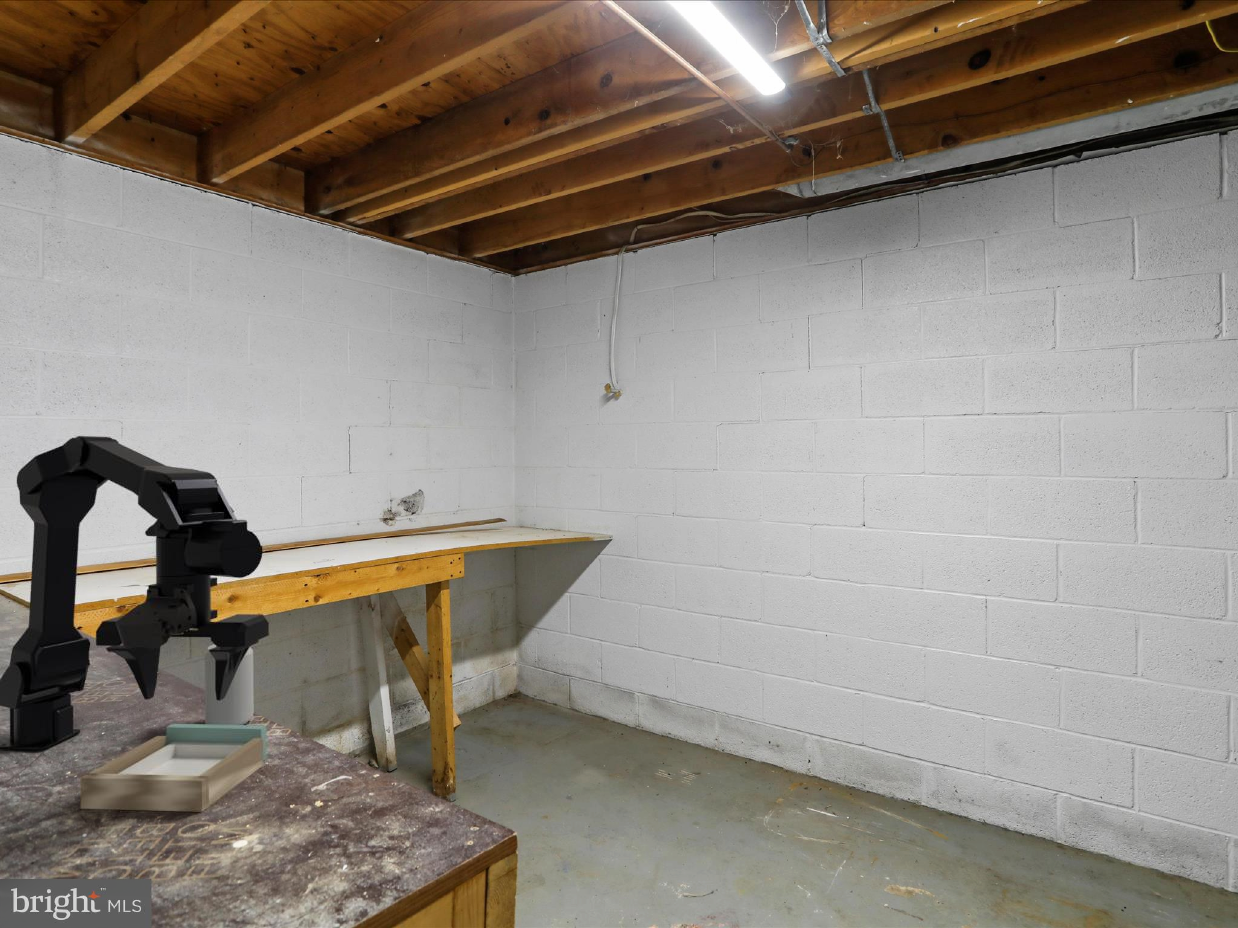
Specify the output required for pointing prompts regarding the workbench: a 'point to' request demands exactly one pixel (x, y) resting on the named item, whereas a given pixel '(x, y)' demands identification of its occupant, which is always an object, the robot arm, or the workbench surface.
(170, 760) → the tray
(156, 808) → the dock
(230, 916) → the workbench surface
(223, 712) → the beverage can
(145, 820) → the workbench surface
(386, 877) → the workbench surface
